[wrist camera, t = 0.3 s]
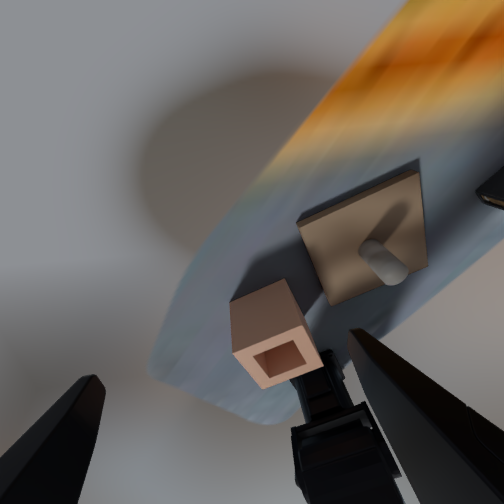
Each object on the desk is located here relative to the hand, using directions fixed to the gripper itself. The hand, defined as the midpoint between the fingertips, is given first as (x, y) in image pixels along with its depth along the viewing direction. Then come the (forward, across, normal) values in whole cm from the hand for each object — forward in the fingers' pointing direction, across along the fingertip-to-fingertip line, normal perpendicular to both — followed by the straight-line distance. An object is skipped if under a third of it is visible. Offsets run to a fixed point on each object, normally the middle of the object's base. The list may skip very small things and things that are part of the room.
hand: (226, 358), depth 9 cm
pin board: (+14, -12, +5) cm, 19 cm away
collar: (+14, -3, +11) cm, 18 cm away
